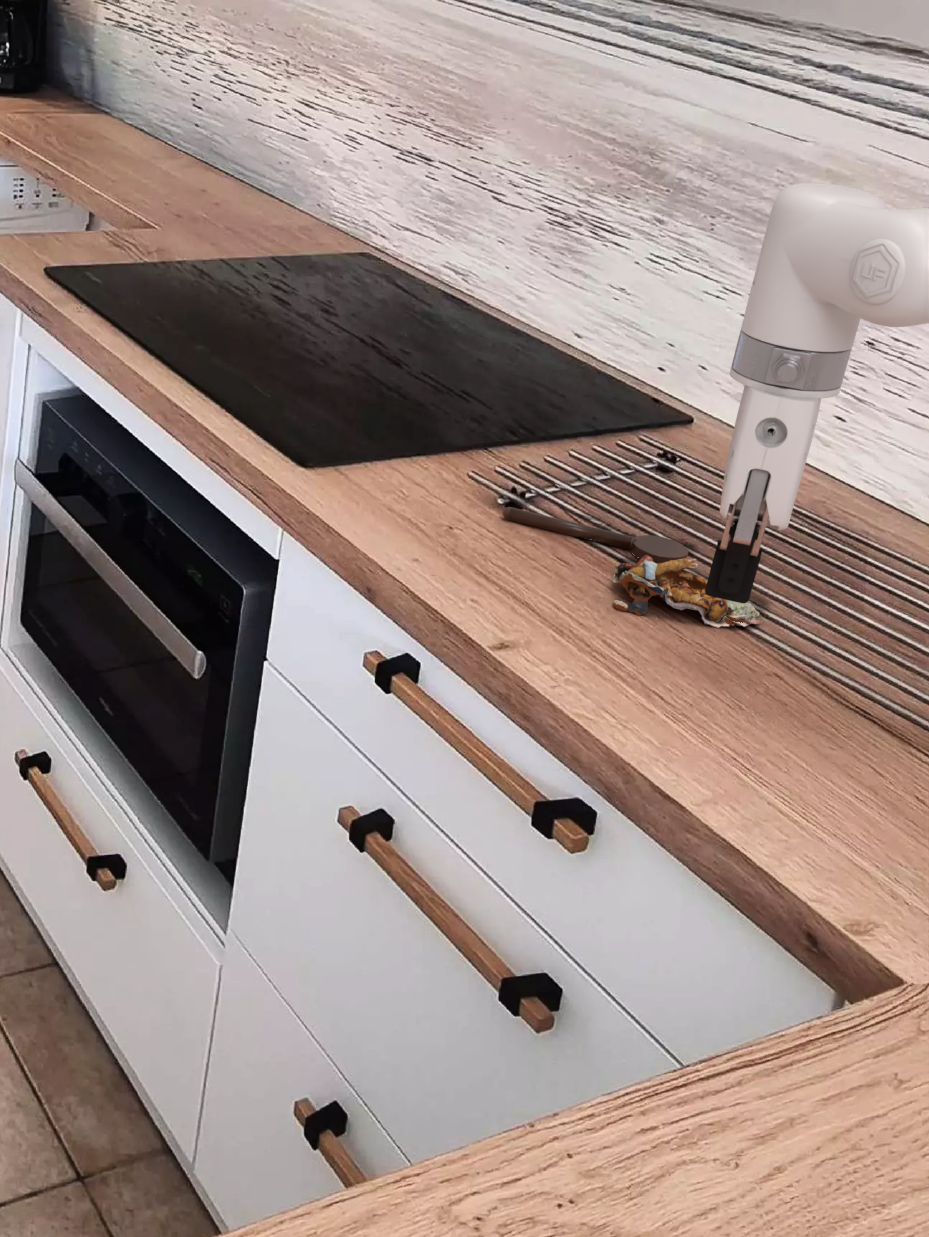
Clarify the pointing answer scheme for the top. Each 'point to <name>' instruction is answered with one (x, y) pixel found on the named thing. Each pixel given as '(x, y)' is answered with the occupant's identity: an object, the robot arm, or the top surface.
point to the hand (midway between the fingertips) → (726, 595)
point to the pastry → (677, 591)
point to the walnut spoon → (604, 536)
